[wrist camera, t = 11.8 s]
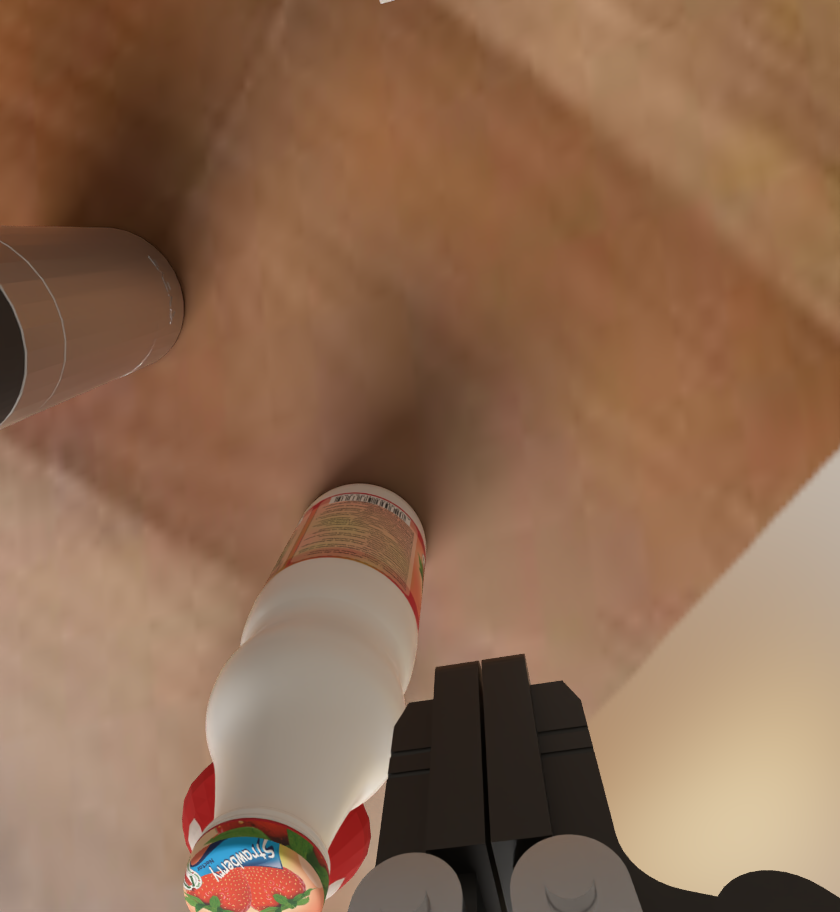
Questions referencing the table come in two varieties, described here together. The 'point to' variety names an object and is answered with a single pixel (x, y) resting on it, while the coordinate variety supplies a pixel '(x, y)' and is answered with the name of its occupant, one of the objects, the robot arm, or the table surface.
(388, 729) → the fruit juice
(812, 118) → the table surface
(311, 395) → the table surface
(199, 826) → the decorative mushroom
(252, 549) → the table surface
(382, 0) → the mat
